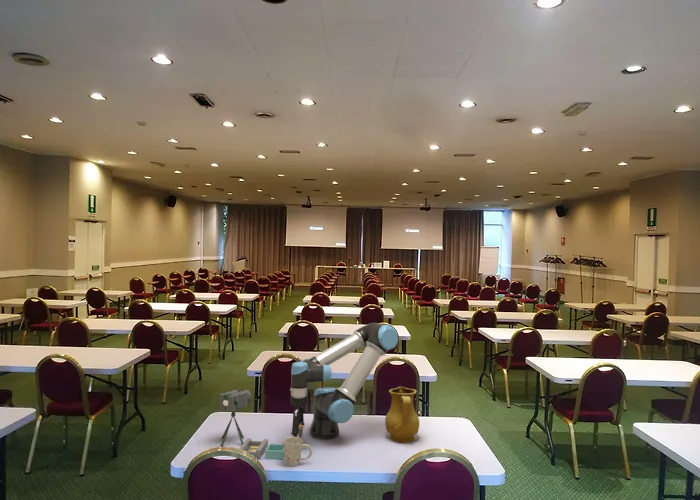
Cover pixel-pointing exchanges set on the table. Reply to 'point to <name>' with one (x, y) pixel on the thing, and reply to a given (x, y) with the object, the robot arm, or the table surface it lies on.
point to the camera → (234, 407)
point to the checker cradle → (255, 447)
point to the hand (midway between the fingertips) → (297, 443)
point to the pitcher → (402, 416)
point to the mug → (294, 450)
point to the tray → (275, 451)
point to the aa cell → (300, 430)
